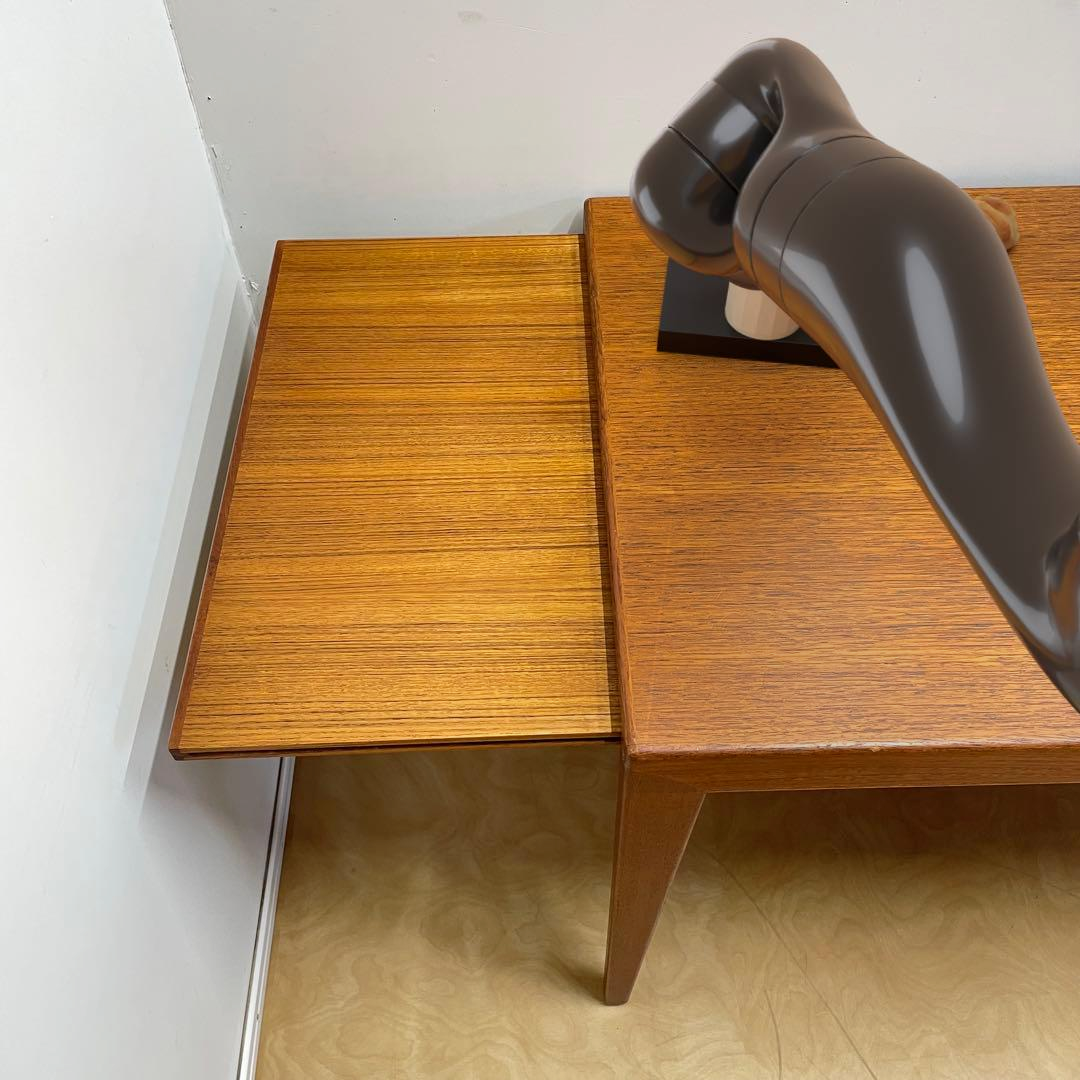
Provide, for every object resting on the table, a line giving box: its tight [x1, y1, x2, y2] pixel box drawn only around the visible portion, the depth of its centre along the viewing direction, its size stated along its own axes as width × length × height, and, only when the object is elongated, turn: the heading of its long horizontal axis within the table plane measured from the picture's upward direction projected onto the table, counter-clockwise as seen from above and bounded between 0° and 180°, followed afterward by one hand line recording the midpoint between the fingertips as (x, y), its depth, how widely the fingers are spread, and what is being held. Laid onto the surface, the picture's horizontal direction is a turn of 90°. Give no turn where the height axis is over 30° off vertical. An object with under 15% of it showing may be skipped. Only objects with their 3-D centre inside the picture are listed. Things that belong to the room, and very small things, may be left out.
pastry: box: [972, 194, 1020, 251], centre depth 94 cm, size 9×7×4 cm
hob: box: [656, 257, 842, 370], centre depth 90 cm, size 18×14×3 cm
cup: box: [725, 282, 800, 340], centre depth 83 cm, size 7×7×10 cm
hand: (771, 258), depth 77 cm, fingers open, 8 cm apart
